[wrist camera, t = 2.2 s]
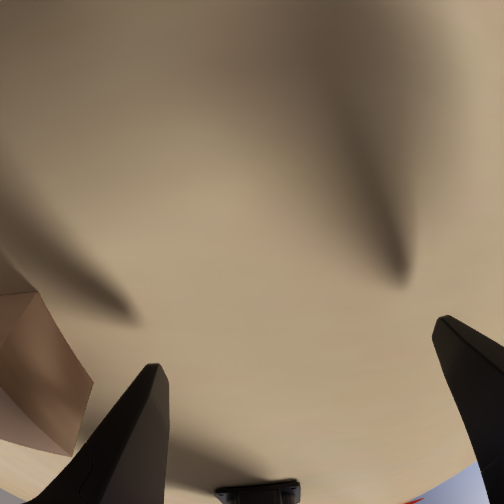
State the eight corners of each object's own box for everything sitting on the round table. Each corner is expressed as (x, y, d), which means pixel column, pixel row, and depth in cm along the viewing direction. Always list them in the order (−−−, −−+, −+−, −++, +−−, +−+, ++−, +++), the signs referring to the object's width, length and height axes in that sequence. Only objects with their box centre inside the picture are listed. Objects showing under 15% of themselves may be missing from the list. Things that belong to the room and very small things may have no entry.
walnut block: (94, 380, 12) (71, 457, 8) (19, 375, 12) (-7, 436, 8) (39, 288, 9) (-13, 370, 6) (-32, 297, 9) (-77, 358, 6)
